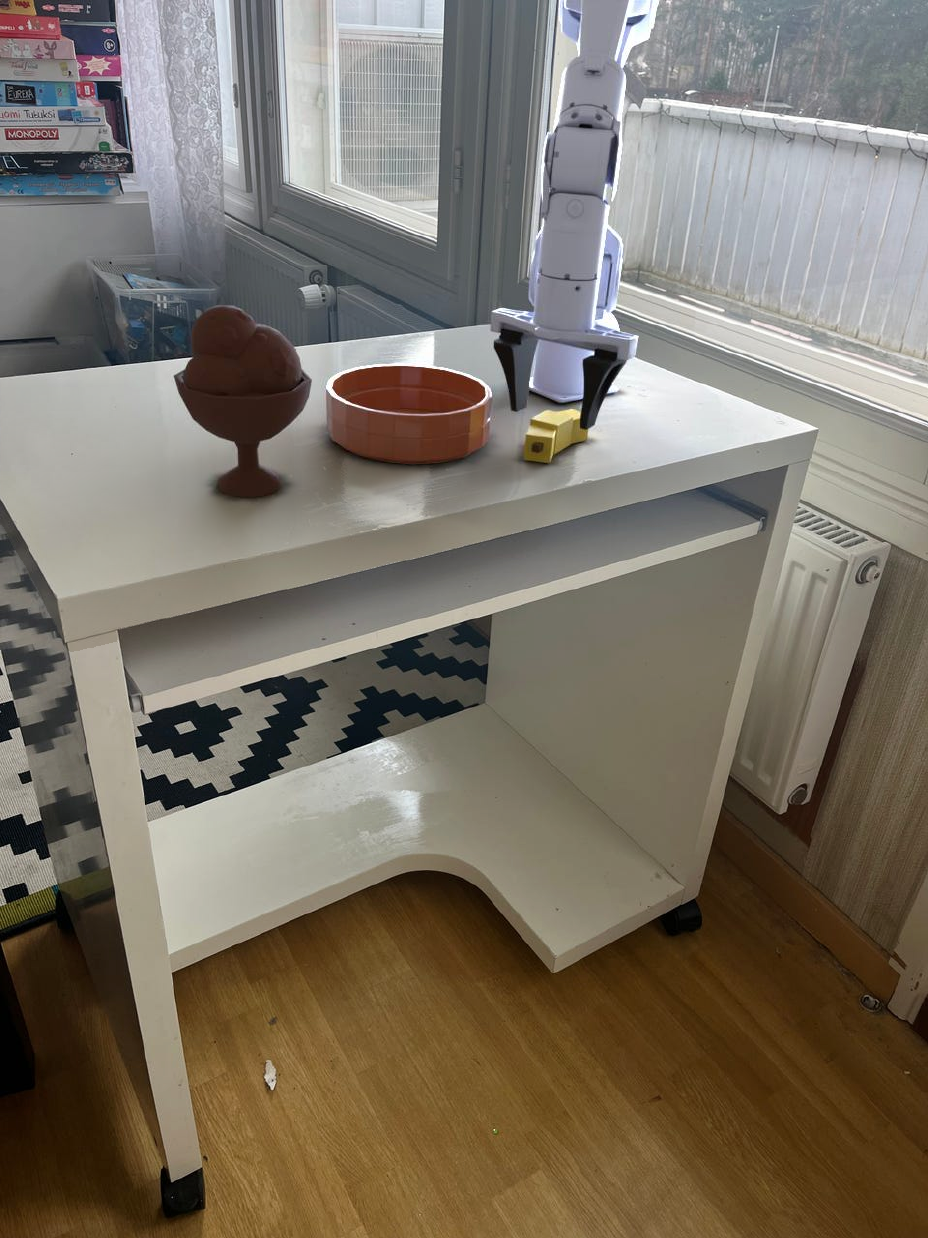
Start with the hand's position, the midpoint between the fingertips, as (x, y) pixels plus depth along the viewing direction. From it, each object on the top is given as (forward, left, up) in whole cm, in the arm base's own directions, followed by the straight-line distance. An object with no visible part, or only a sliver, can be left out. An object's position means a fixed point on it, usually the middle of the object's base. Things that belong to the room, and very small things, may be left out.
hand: (552, 417), depth 94 cm
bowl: (+11, -9, -3) cm, 15 cm away
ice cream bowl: (+30, -6, -3) cm, 31 cm away
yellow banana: (0, 0, -3) cm, 3 cm away
